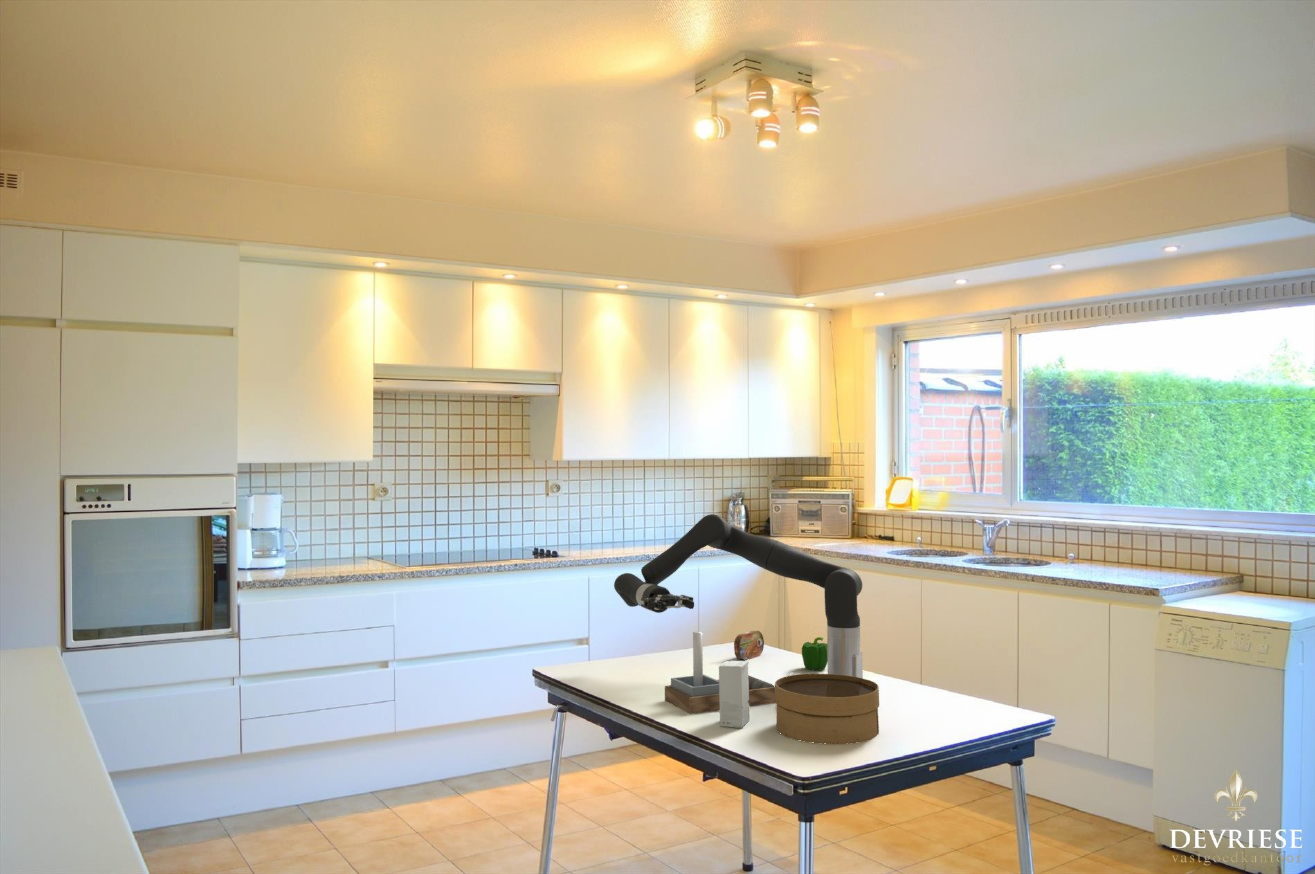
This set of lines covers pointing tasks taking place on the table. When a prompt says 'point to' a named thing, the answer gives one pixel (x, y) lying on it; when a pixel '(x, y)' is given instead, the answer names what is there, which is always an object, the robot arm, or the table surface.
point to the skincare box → (734, 694)
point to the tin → (748, 645)
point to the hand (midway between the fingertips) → (678, 606)
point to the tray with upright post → (696, 674)
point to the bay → (757, 695)
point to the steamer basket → (827, 708)
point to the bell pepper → (815, 655)
